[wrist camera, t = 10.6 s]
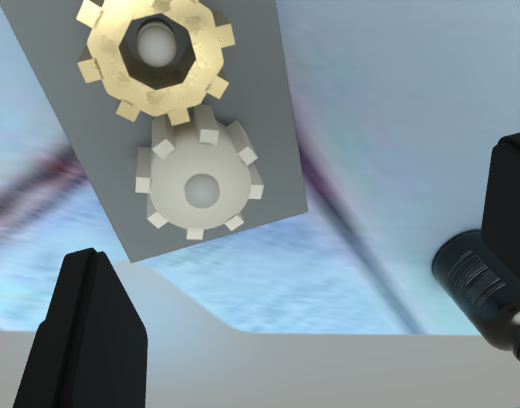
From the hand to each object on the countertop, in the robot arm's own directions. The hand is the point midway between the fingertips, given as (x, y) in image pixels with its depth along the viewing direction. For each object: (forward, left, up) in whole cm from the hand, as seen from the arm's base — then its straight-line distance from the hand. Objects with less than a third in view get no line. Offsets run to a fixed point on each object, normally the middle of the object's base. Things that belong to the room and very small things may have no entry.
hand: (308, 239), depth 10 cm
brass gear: (+3, -2, -18) cm, 18 cm away
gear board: (+3, -2, -20) cm, 20 cm away
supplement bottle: (-19, +25, -20) cm, 37 cm away
